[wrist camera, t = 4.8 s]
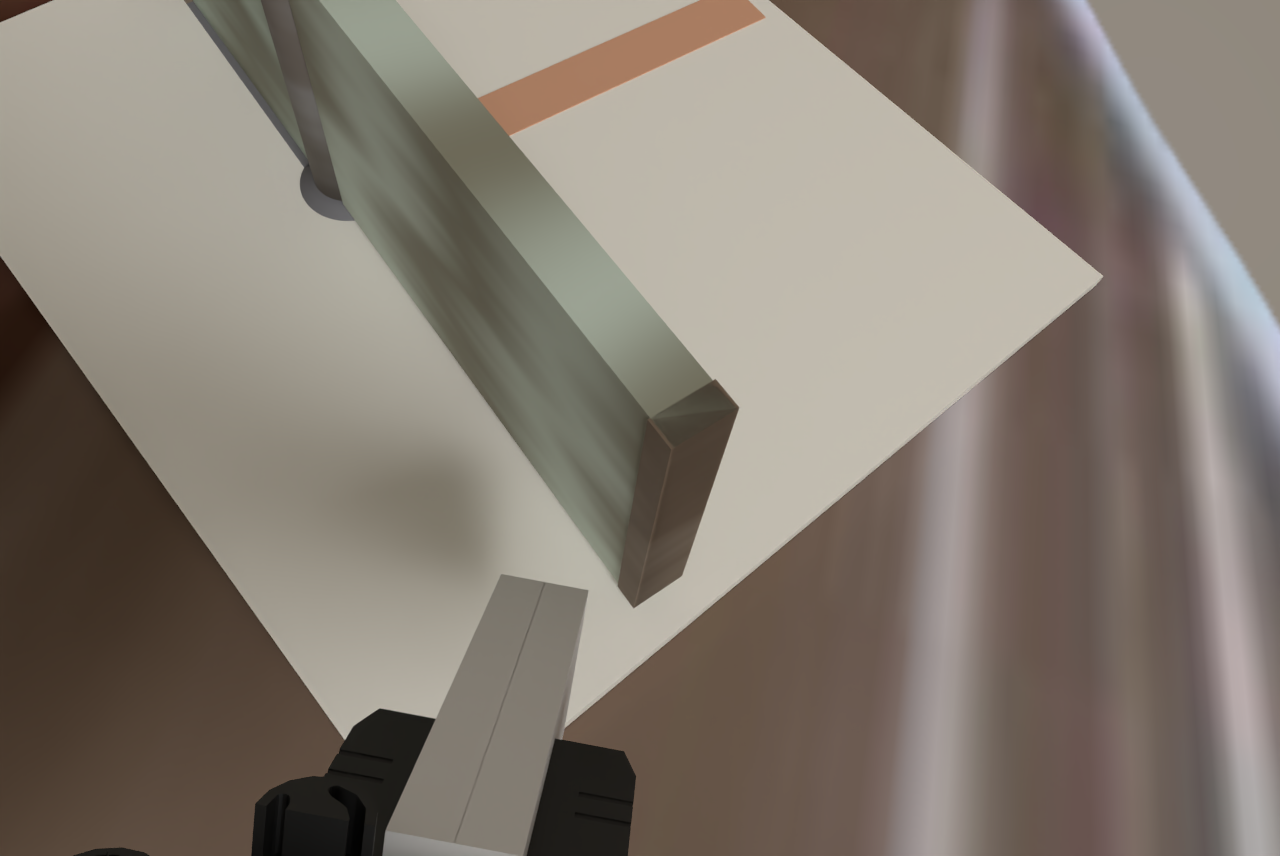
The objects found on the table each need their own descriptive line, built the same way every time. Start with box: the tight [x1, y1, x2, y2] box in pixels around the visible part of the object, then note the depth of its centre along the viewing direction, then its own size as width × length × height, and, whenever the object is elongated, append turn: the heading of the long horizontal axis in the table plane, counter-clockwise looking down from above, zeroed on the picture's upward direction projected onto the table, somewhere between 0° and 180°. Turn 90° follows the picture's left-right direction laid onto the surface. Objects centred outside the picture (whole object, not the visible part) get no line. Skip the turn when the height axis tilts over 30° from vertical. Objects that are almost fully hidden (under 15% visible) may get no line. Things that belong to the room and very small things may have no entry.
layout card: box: [0, 0, 1103, 740], centre depth 28 cm, size 25×22×1 cm
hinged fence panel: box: [261, 0, 739, 608], centre depth 21 cm, size 15×2×8 cm, turn 36°
